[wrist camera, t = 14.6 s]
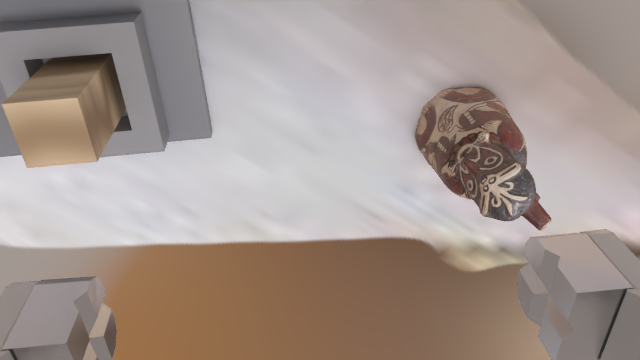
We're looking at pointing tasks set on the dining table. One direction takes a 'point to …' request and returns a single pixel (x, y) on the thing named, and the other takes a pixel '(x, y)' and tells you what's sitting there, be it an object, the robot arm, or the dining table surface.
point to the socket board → (165, 55)
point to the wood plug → (66, 110)
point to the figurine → (480, 154)
